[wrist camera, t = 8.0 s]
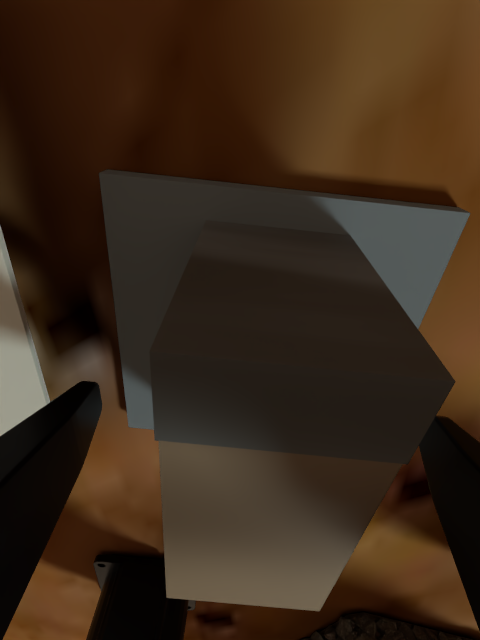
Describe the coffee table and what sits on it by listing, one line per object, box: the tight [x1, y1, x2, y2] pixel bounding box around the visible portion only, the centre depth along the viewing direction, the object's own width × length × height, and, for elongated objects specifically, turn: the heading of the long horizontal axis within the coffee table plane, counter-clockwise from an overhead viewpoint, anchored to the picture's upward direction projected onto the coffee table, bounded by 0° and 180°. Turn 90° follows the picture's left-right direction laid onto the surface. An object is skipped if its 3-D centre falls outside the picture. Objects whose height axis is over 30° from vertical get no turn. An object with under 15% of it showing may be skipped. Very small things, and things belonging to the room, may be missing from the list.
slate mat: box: [99, 169, 470, 430], centre depth 12 cm, size 10×10×1 cm
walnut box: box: [149, 220, 455, 611], centre depth 9 cm, size 8×4×6 cm, turn 175°
